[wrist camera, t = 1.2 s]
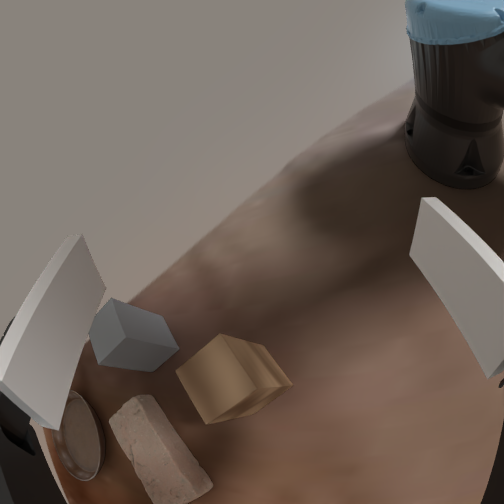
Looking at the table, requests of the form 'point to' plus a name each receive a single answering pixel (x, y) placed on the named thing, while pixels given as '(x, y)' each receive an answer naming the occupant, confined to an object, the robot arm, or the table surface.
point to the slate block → (130, 337)
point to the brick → (158, 453)
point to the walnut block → (231, 379)
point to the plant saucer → (80, 438)
